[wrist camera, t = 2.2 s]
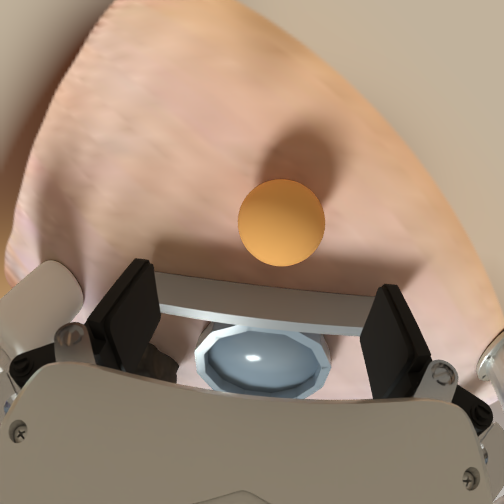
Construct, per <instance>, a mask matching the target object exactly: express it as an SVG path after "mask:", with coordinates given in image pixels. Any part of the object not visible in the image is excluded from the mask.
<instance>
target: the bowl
mask: <svg viewBox="0 0 504 504" xmlns="http://www.w3.org/2000/svg"><path fill="white" fill-rule="evenodd" d="M195 360H196V368H197V373H198V374H199V375H200V376H201V378H202V379H203V380H204V381H205V382H206V383H207V384H208V385H209V386H210V387H211V388H212V389H213V390H215V391H222V392H229V393H237V394H245V395H254V396H264V397H276V398H292V399H305V398H307V397H308V396H310V395H311V394H313V393H315V392H316V391H318V390H319V389H321V388H322V387H323V385H324V383H325V381H326V378H327V376H328V374H329V371H330V369H331V359H330V351H329V347H328V345H327V343H326V341H325V339H324V336H323V334H317V333H305V332H294V331H284V330H275V329H266V328H257V327H249V326H241V325H234V324H227V323H220V322H213V321H212V322H211V323H210V324H209V325H208V326H207V328H206V329H205V330H204V331H203V332H202V334H201V335H200V338H199V340H198V343H197V346H196V349H195Z"/></svg>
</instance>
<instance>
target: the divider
mask: <svg viewBox="0 0 504 504" xmlns="http://www.w3.org/2000/svg"><path fill="white" fill-rule="evenodd" d="M154 273H155V280H156V287H157V294H158V300H159V306H160V312H161V313H166V314H171V315H177V316H182V317H188V318H194V319H200V320H207V321H213V322H220V323H227V324H234V325H241V326H249V327H257V328H266V329H275V330H284V331H294V332H305V333H317V334H331V335H347V336H360V334H361V332H362V329H363V327H364V325H365V322H366V320H367V317H368V315H369V312H370V309H371V307H372V304H373V301H374V299H375V297H370V296H358V295H347V294H336V293H325V292H315V291H305V290H295V289H286V288H277V287H268V286H259V285H251V284H243V283H235V282H227V281H219V280H211V279H204V278H196V277H189V276H182V275H175V274H168V273H161V272H154Z"/></svg>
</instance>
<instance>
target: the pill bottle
mask: <svg viewBox="0 0 504 504" xmlns="http://www.w3.org/2000/svg"><path fill="white" fill-rule="evenodd" d="M82 306H83V294H82V290H81V288H80V286H79V284H78V282H77V280H76V279H75V277H74V276H73V274H72V273H71V272H70V271H69V270H68V269H67V268H66V267H65V266H63V265H62V264H61V263H59V262H57V261H53V260H48V261H45V262H43V263H42V264H40V265H39V266H38V267H37V268H35V269H34V270H33V271H32V272H31V273H30V274H28V275H27V276H26V277H25V278H24V279H23V280H21V281H20V282H19V283H18V284H17V285H16V286H15V287H13V288H12V289H11V290H10V291H9V292H8V293H7V294H6V295H5V296H4V297H3V298H2V299H0V372H2V371H4V370H6V372H8V371H9V366H10V363H11V361H12V360H13V359H14V358H15V357H16V356H17V355H19V354H21V353H24V352H27V351H30V350H33V349H36V348H39V347H42V346H44V345H47V344H50V343H53V342H54V335H55V333H56V331H57V330H58V329H59V328H60V327H61V326H63V325H65V324H67V323H70V322H71V321H72V320H73V319H74V317H75V316H76V315H77V314H78V313H79V311H80V310H81V308H82Z"/></svg>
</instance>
